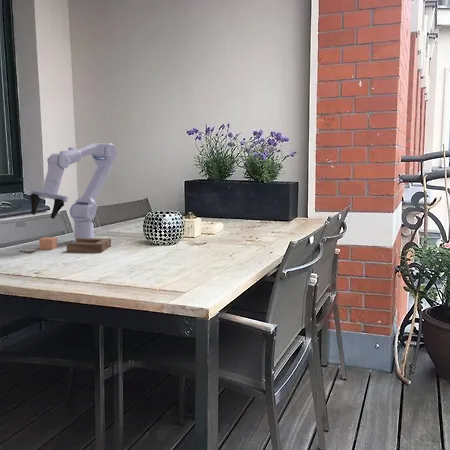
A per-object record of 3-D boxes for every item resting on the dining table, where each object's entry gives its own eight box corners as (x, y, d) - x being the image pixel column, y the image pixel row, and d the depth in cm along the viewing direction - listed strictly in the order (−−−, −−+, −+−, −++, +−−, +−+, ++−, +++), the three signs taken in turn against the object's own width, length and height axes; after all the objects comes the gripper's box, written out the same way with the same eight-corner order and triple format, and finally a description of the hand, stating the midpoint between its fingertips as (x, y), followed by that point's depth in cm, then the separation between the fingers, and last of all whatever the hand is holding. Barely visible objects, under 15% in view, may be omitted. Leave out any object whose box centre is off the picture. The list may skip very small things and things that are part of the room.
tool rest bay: (78, 245, 204) (78, 238, 204) (111, 246, 204) (110, 238, 203) (66, 251, 190) (66, 243, 190) (101, 252, 190) (101, 244, 190)
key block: (44, 247, 200) (44, 237, 200) (57, 247, 200) (57, 237, 200) (39, 249, 195) (39, 239, 195) (52, 249, 195) (52, 239, 195)
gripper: (30, 175, 195) (20, 209, 192) (67, 183, 194) (57, 217, 192) (37, 181, 202) (27, 214, 199) (72, 188, 201) (63, 221, 199)
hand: (42, 216), depth 196 cm, fingers open, 7 cm apart
